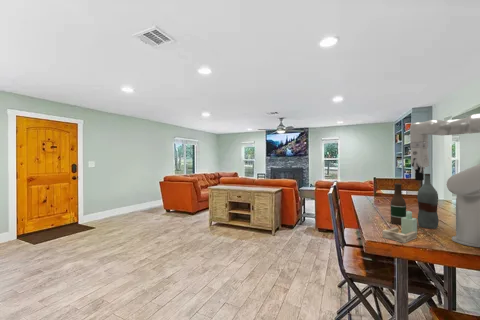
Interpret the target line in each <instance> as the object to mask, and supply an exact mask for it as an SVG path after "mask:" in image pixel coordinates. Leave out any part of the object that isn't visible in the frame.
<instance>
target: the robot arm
mask: <svg viewBox="0 0 480 320" xmlns="http://www.w3.org/2000/svg"><path fill="white" fill-rule="evenodd" d="M409 126H410V127H409V129H410V131H409V133H410V134H409V140H410V143H409V145H410V150H411V152H410V166H411V167H412V168H413V170H414V180H415V181H422V182H423V181H424V174H425V169H426V168H428V167H429V166H430V161H429V157H430V156H429V151H428V149H429V135H430V136H455V135H465V134H471V135H472V134H480V113H473V114H470V115H469V116H467V117H465V118H464V117H463V118H458V119H452V120H451V119H449V120H443V119H442V120H440V119H429V120H426V121H422V122H421V121H420V122H413V123H411V124H410V125H409ZM446 188H447V190H448V191H449V192H450V193H452V194H454V195H456V198H455V235H453V236H451V241H453V242H455V243H457V244H460V245H463V246H468V247H473V248H480V163H478V164H476V165H473V166H471V167H468V168H467V169H465V170H462V171H460V172H458V173H455V174H453V175H451V176H450V177H448V179H447V181H446Z"/></svg>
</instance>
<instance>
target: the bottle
mask: <svg viewBox="0 0 480 320" xmlns="http://www.w3.org/2000/svg"><path fill="white" fill-rule="evenodd" d="M400 226H401V228H400V229H401V232H400V233H402V234H407V233H409V232H412V231H415V232H417V233H418V219H417V218H416V217H413V212H412V210H411V211H410V210H406V217H403V218H401V225H400Z"/></svg>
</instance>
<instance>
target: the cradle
mask: <svg viewBox="0 0 480 320" xmlns="http://www.w3.org/2000/svg"><path fill="white" fill-rule="evenodd" d="M382 238H384V239H387V240H391V241H396V242H399V243H403V244H405V243H408V242H410V241H413V240H416V239H417V238H418V231H417V232H415V231H412V232H409V233H407V234H402V233H401V232H399V227H396V226H395V227H392V228H389V229H383V230H382Z"/></svg>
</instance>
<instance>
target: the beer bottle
mask: <svg viewBox="0 0 480 320" xmlns="http://www.w3.org/2000/svg"><path fill="white" fill-rule="evenodd" d="M402 190H403V189H402V183H400V182H395V183H394V191H393V192H394V194H393V197H392V198H391V200H390V223H391V224H392V225H396V226H401V218H403V217H406V211H407V202H406V201H405V199H404V198H403V194H402V193H403V191H402Z"/></svg>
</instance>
